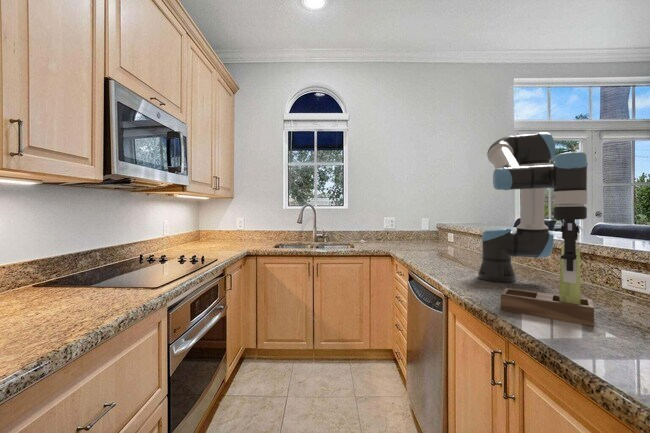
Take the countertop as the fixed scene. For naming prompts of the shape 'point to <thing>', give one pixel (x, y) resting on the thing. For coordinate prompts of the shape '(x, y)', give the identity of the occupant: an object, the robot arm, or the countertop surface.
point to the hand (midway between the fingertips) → (569, 277)
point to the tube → (570, 290)
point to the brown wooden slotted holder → (547, 306)
